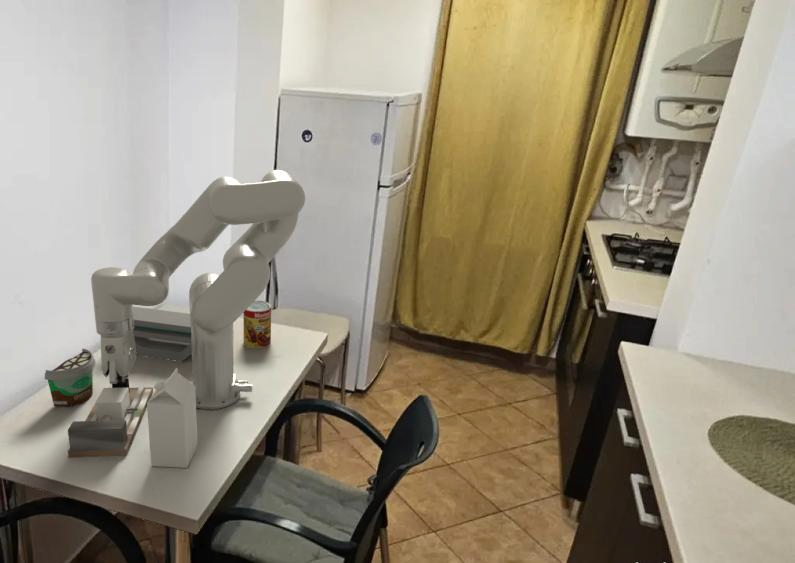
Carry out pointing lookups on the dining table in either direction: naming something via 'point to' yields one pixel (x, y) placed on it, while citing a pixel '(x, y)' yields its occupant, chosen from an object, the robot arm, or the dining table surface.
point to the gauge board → (108, 429)
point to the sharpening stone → (162, 333)
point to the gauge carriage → (114, 403)
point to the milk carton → (172, 422)
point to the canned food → (257, 325)
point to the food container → (72, 380)
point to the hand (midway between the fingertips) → (121, 395)
